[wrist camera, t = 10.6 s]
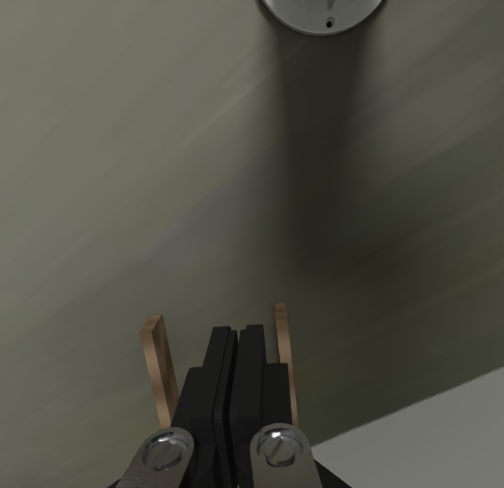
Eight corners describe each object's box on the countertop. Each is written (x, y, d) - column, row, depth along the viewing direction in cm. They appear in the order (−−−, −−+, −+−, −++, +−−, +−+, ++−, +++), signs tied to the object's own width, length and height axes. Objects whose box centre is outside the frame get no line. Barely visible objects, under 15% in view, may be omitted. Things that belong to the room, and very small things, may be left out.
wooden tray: (151, 315, 41) (139, 333, 37) (285, 302, 40) (287, 319, 36) (174, 421, 44) (165, 447, 41) (296, 412, 44) (299, 438, 40)
